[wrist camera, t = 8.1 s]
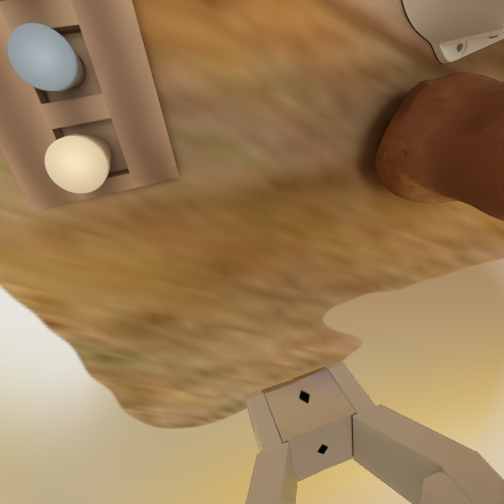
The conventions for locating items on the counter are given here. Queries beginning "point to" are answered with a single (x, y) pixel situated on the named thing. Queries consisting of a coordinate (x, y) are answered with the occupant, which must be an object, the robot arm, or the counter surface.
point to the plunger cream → (78, 162)
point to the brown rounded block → (447, 143)
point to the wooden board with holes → (84, 100)
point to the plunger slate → (45, 58)
